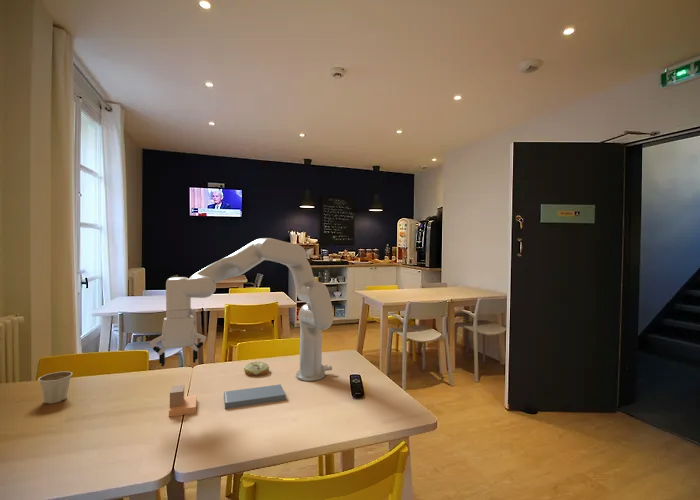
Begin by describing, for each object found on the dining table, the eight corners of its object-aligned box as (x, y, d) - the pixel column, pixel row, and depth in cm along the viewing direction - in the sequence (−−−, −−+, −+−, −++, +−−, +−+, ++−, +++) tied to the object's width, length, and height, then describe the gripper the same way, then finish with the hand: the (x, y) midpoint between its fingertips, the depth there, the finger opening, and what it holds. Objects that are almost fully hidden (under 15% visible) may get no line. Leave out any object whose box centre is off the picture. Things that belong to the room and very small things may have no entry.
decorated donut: (258, 378, 148) (258, 370, 148) (238, 374, 153) (238, 365, 153) (273, 371, 158) (273, 362, 158) (254, 367, 162) (255, 359, 162)
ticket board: (280, 389, 137) (280, 384, 137) (285, 399, 128) (285, 394, 128) (223, 397, 129) (223, 391, 129) (224, 408, 120) (225, 402, 120)
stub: (196, 400, 126) (196, 381, 126) (195, 412, 117) (195, 392, 117) (171, 403, 123) (172, 383, 123) (168, 416, 114) (169, 395, 114)
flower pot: (32, 402, 122) (32, 377, 122) (64, 392, 131) (64, 369, 131) (45, 408, 118) (45, 383, 118) (77, 398, 126) (77, 374, 126)
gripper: (206, 309, 126) (206, 356, 126) (151, 313, 119) (151, 363, 119) (205, 313, 119) (206, 363, 119) (147, 317, 112) (148, 370, 113)
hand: (179, 363), depth 119 cm, fingers open, 9 cm apart
